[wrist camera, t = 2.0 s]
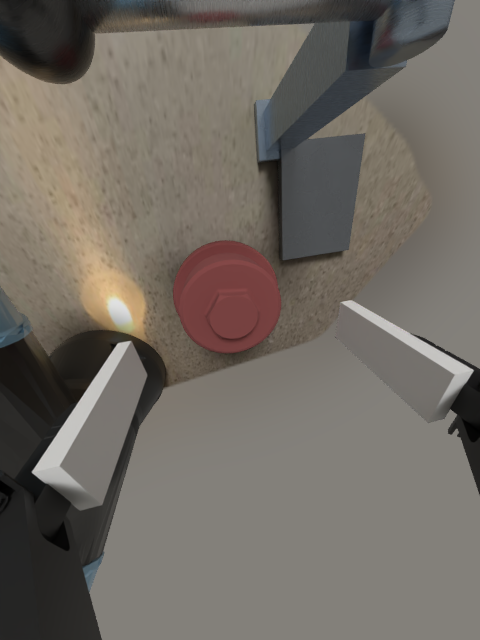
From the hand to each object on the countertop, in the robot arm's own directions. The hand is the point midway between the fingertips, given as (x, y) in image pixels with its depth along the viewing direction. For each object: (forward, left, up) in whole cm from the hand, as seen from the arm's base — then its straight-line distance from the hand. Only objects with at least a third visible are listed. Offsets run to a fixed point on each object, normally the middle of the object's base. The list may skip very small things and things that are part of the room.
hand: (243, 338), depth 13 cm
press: (+11, +8, -15) cm, 21 cm away
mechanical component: (0, 0, -15) cm, 15 cm away
